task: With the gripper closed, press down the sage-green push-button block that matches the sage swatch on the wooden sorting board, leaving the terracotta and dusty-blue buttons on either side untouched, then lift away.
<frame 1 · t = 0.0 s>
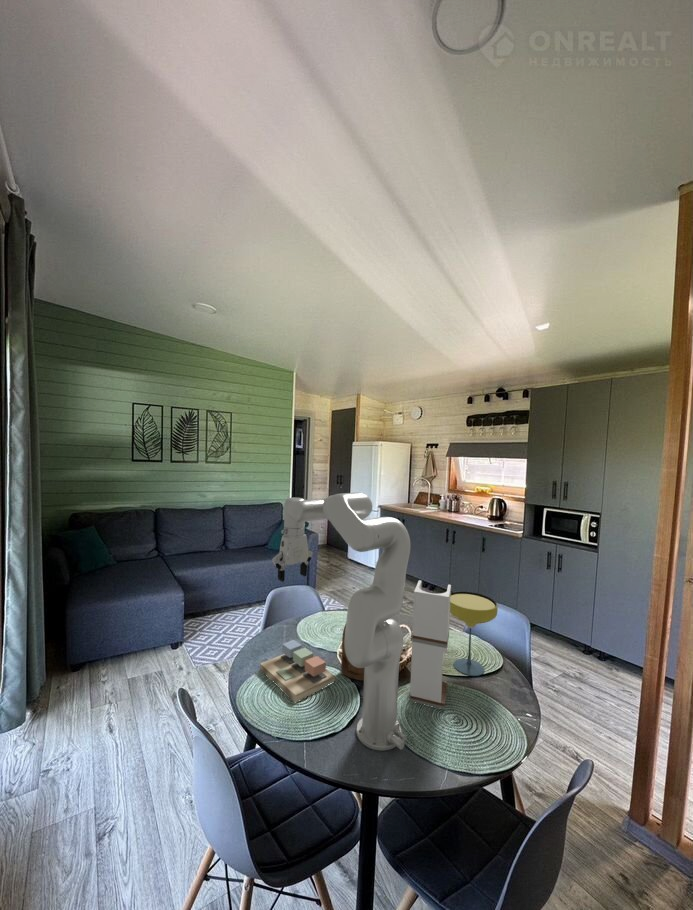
hand: (292, 577, 137), 31 cm above the table, fingers open, 9 cm apart
wooden sorting board: (296, 676, 128), on the table
sage button: (303, 656, 130), point 6 cm above the table, slide at 0.0 cm
block: (356, 675, 131), on the table
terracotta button: (315, 665, 125), point 6 cm above the table, slide at 0.0 cm
white square pillar: (428, 695, 121), on the table
cocktail glass: (468, 667, 138), on the table
blue button: (291, 648, 135), point 6 cm above the table, slide at 0.0 cm
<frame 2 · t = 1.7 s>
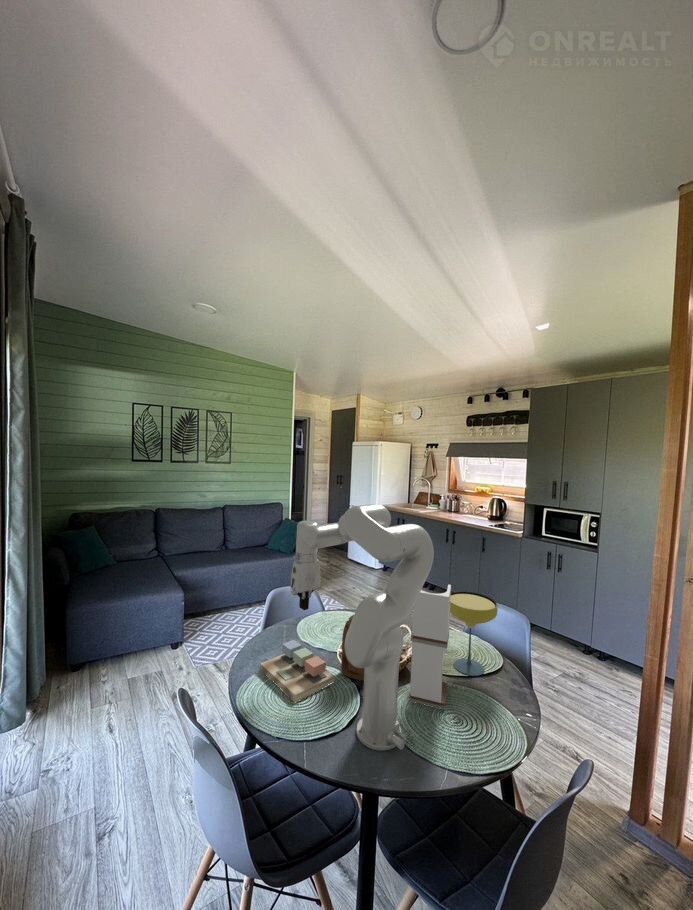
hand: (303, 608, 130), 23 cm above the table, fingers closed
nothing on the table moved.
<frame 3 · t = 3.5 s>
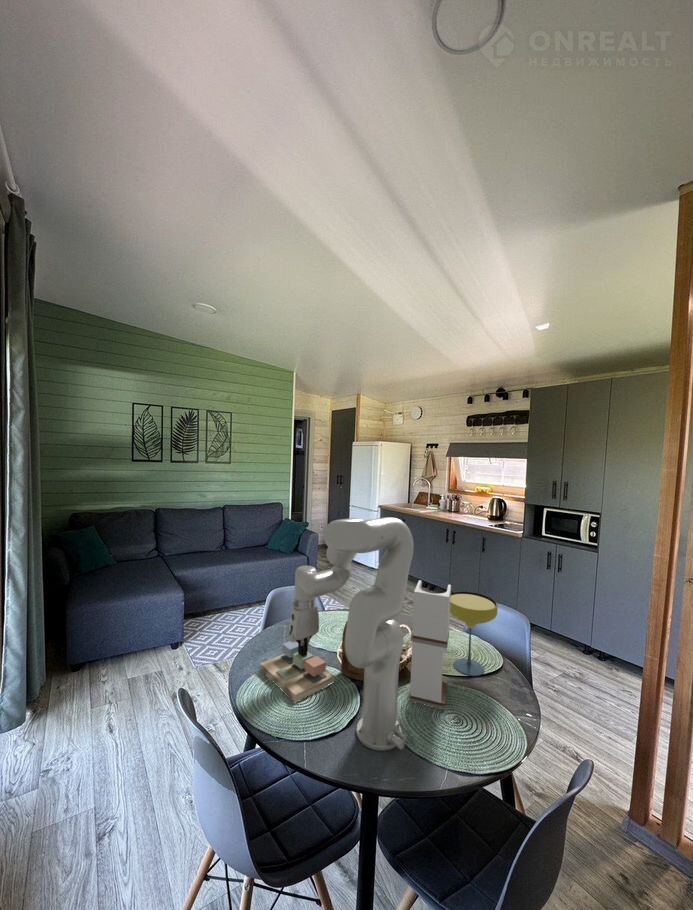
hand: (302, 654, 130), 7 cm above the table, fingers closed
sage button: (303, 659, 130), point 5 cm above the table, slide at 0.8 cm, touching gripper
everything else where it was.
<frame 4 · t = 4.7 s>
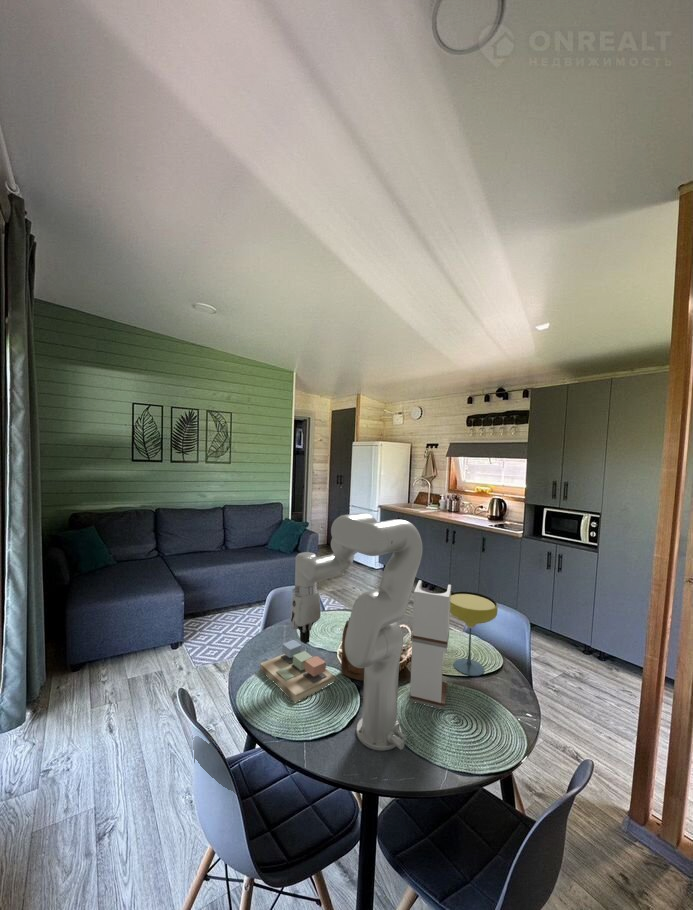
hand: (304, 641, 129), 12 cm above the table, fingers closed
sage button: (302, 660, 130), point 5 cm above the table, slide at 1.2 cm
everything else where it was.
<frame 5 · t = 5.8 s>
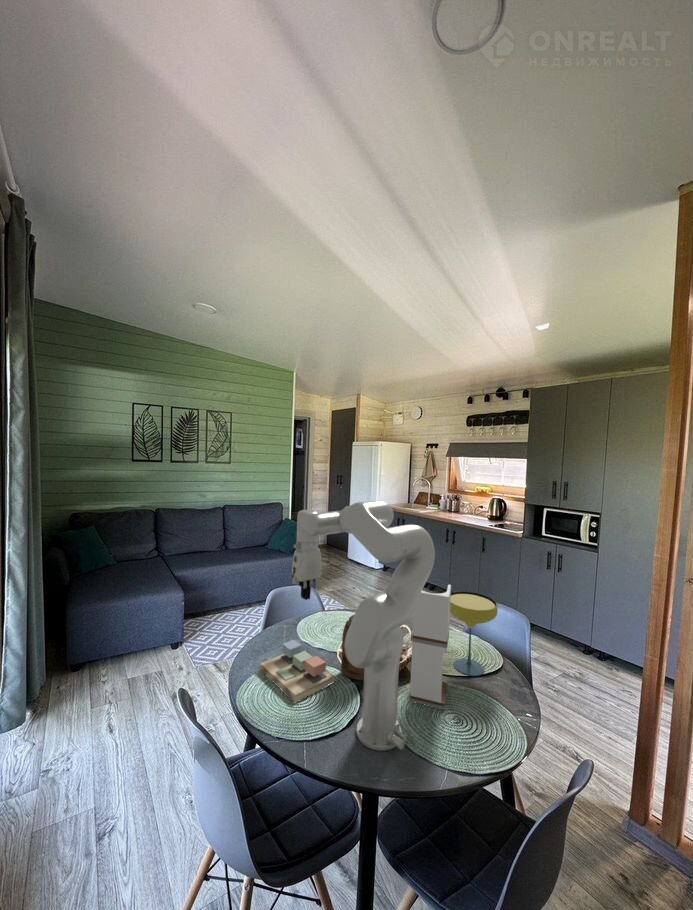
hand: (305, 598, 130), 27 cm above the table, fingers closed
nothing on the table moved.
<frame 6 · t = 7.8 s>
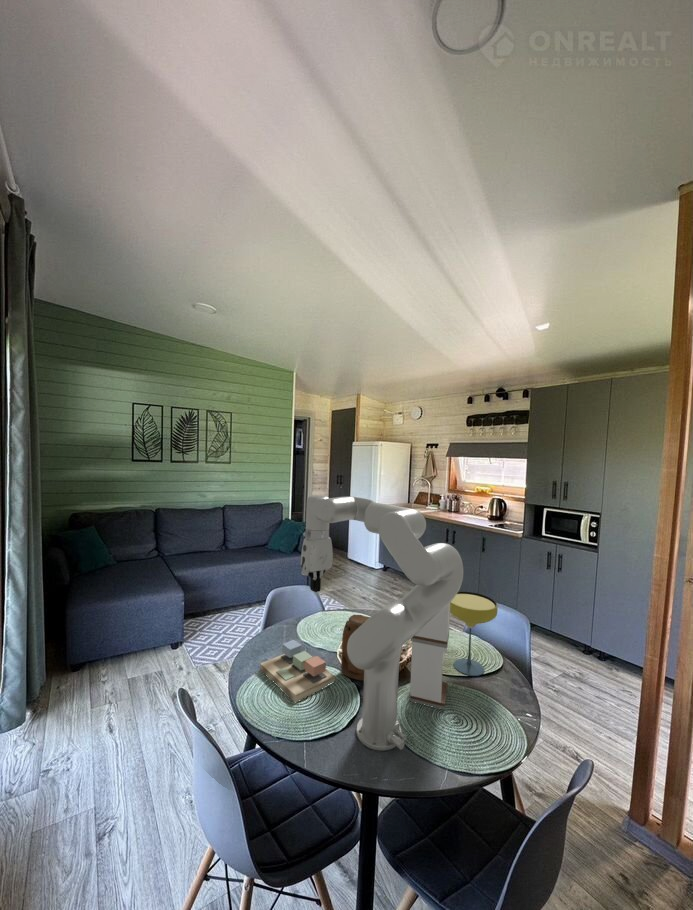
hand: (315, 590, 120), 33 cm above the table, fingers closed
nothing on the table moved.
at the end: sage button slide at 1.2 cm; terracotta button slide at 0.0 cm; blue button slide at 0.0 cm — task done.
